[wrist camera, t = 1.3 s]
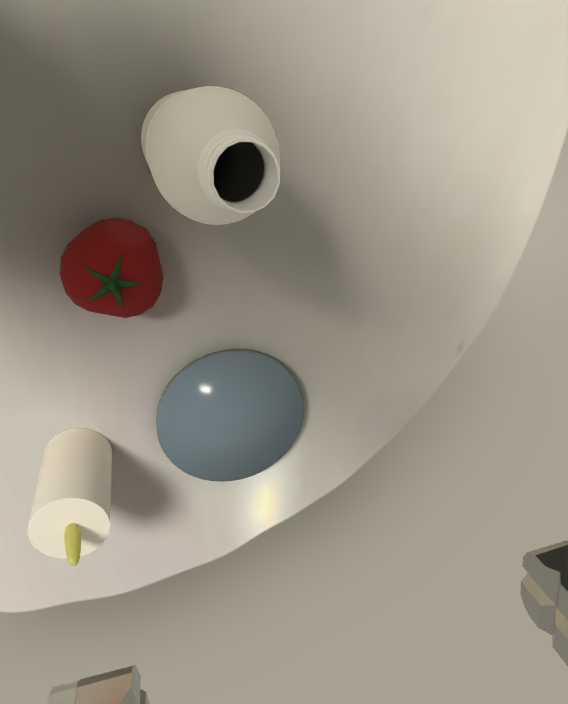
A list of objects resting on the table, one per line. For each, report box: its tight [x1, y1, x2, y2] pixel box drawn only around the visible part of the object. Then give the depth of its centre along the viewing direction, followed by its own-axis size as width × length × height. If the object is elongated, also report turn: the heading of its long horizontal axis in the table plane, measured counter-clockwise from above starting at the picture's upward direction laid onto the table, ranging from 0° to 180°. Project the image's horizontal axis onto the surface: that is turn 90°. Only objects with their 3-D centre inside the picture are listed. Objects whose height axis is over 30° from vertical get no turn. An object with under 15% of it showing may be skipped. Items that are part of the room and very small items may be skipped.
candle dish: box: [156, 349, 304, 481], centre depth 55 cm, size 15×15×2 cm
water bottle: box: [141, 86, 280, 225], centre depth 33 cm, size 7×7×25 cm
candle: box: [28, 428, 112, 566], centre depth 47 cm, size 6×6×15 cm
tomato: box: [60, 218, 163, 318], centre depth 43 cm, size 8×8×7 cm
